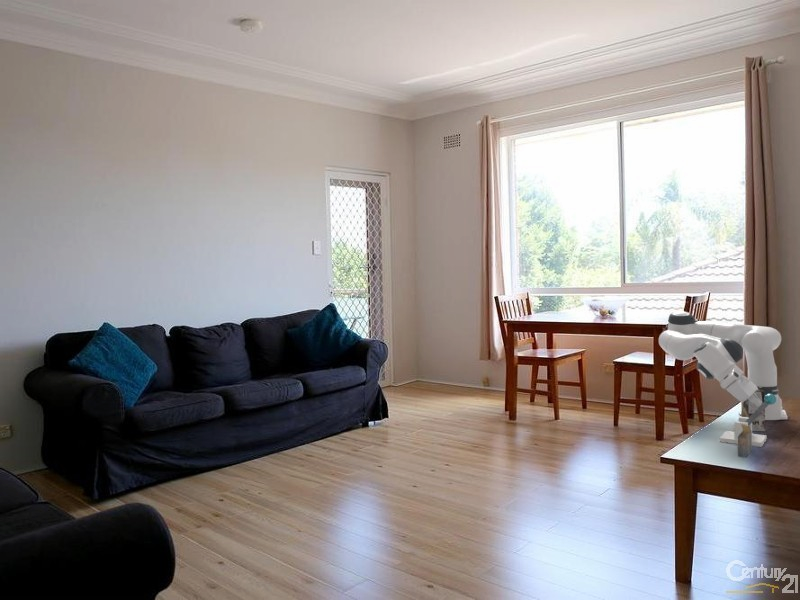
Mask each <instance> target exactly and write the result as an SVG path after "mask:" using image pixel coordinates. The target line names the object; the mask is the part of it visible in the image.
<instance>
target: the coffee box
mask: <svg viewBox="0 0 800 600" xmlns="http://www.w3.org/2000/svg"><path fill="white" fill-rule="evenodd" d="M754 393H755V394H756V395H757V396H758V398H759V399H760V400H761V401H762V403H763V402H764V401H765V400H764V397H765V392H764V391H762V390H760V389H757V390H756V391H755V392H754ZM740 405H741V406H740V407H741V410H740V411H742V415H741V417H747V418H749V417H750V416H751V415H752V414H753V413H754V412H755V411H756V410H757V409H758V408H759V407H760V406H761V405H762V404H761V405H760V406H759V407H757V406H756V405H755V404H754V403H752V402H751V401H749V400H748V399H747V400H745V401H744V402H741V404H740ZM765 431H766V420H765V409H764V410H763V411H762V412H761V413H760V415H759V416H758V417H757V418H756V419H755V420H754V421H753V422H752V432H765Z"/></svg>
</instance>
